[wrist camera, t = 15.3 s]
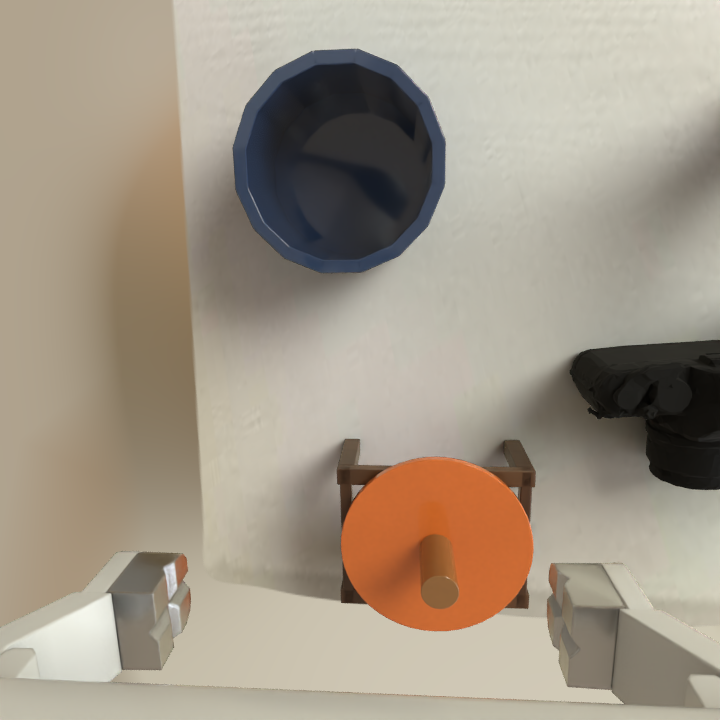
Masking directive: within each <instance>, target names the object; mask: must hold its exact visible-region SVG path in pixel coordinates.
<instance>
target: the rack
mask: <svg viewBox="0 0 720 720" xmlns="http://www.w3.org/2000/svg"><path fill="white" fill-rule="evenodd" d="M359 455H360V439H345V442H344V446H343V449H342V453H341V457H340V460H339V464H338V468H337V484H338V485H340V496H341V528H342V529H343V523H344V520H345V517H346V514H347V511H348V509H349V507H350V505H351V503H352V501H353V500H352V485H366V484H367V482H369V481H370V480H371V479H372V478H374V477H375V476H376V475H377V474H379V473H381V472H382V471H384V470H386V469H387V468H389V467H392V466H374V465H358V460H359ZM504 455H505V457H506V460H507V462H508V465H509V467H482V468H484V469H486V470H487V471H489V472H491V473H492V474H494V475H495V476H497V477H498V478H499V479H500V480H502V481H503V482H504V483H505V484H506V485H507V486H508V487H519V488H518V499H519V501H520V502H521V504H522V506H523V508H524V510H525V512H526V514H527V517H528V519H529V523H530V515H531V495H532V487H535V477H536V472H535V470H534V468H533V466H532V464H531V462H530V460H529V458H528V456H527V454H526V452H525V450H524V448H523V446H522V444H521V442H520V441H519V440H505V441H504ZM341 603H358V604H367V603H366V602H365V601H364V599H363V598H362V597H361V596H360V595H359V594H358V592H357V591H356V590H355V588H354V586H353V585H352V583H351V581H350V580H349V578H348V575H347V573H346V570H345V567H344V563H343V580H342V586H341ZM528 607H529V593H528V590H527V578H526V581H525V583H524V585H523V586H522V588H521V589H520V591H519V592H518V594H517V595H516V596H515V597H514V599H513V600H512V601H511V602H510V603H509V604H508V605H507V606H506V607H505V608H524V609H528Z"/></svg>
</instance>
